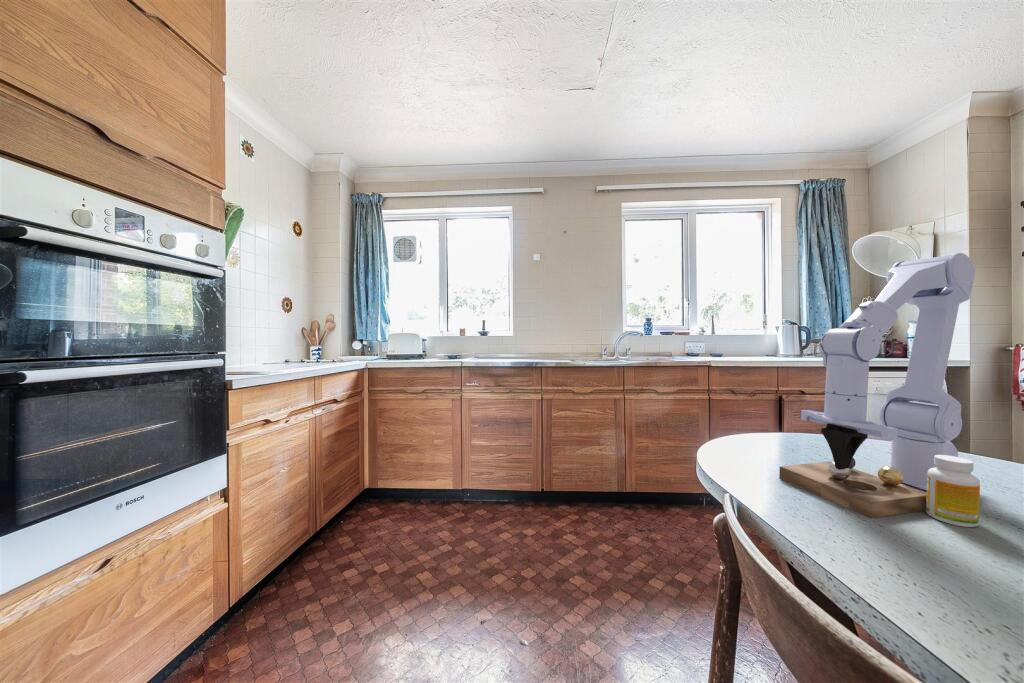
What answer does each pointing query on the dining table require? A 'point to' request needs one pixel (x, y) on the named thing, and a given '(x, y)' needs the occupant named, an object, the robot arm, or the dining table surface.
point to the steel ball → (838, 472)
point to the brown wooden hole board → (855, 490)
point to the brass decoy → (890, 475)
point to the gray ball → (852, 463)
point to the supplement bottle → (953, 491)
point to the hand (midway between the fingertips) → (841, 468)
